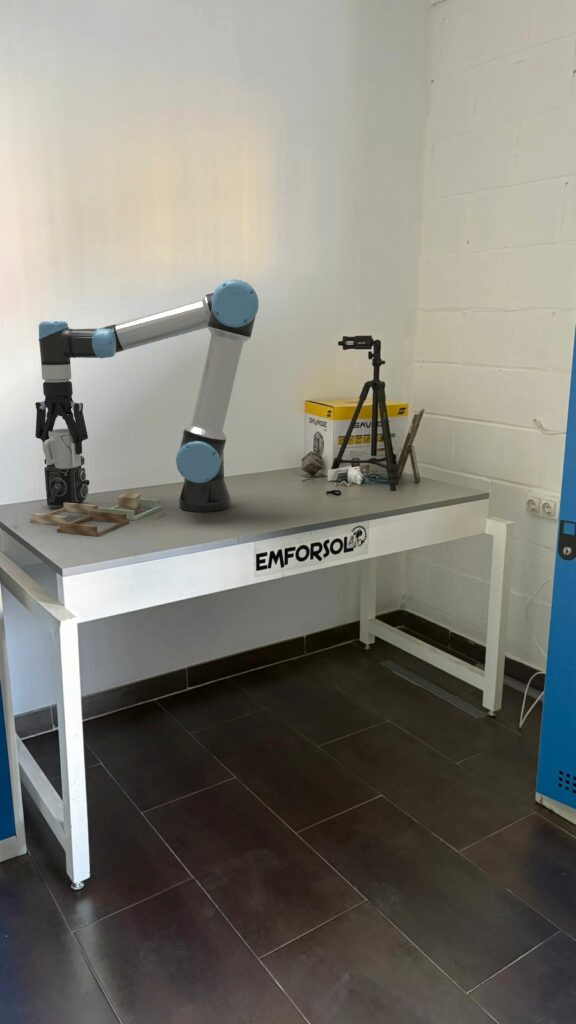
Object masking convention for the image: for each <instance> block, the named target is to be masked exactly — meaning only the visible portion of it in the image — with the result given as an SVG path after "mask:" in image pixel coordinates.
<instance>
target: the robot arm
mask: <svg viewBox="0 0 576 1024" xmlns="http://www.w3.org/2000/svg"><path fill="white" fill-rule="evenodd" d="M259 303H260V302H259V298H258V294H257V292H256V291H255V289H254V288H253V287H252V285H251V284H249V283H248V282H246V281H243V280H242V279H240V280H239V279H229V280H226V281H224V282H222V283H221V284H219V285H218V286H217V288H216V289H215V291H213V292H211V293H207V294H205V295H204V296H203V298H202V299H201V300H197V301H193V302H190V303H189V302H188V303H186V304H183V305H179V306H175V307H171V308H168V309H165V310H160V311H158V312H154V313H150V314H147V315H144V316H139V317H136V318H133V319H130V320H126V321H122V322H118V323H115V324H111V325H107V326H104V327H101V328H100V327H97V328H70V327H69V324H68V322H67V321H64V320H62V321H55V320H54V321H53V320H51V321H48V320H47V321H41V322H39V324H38V344H39V352H40V353H39V354H40V363H41V379H42V380H43V383H42V391H43V393H42V394H43V396H44V400H43V401H37V402H35V404H34V405H35V409H36V416H35V417H36V420H35V422H36V423H35V438H36V439H39V440H41V442H42V444H43V443H44V441H45V440H47V439H49V434H48V432H49V431H51V432H52V431H53V430H54V427H55V424H56V420H57V418H58V417H62V418H61V419H63V420H64V422H65V424H66V426H67V429H69V432H70V434H71V436H72V439H73V442H72V443H71V449H72V462H73V467H77V466H80V465H81V456H82V455H81V454H83V441H86V440H88V439H89V436H88V432H87V427H86V421H85V417H84V412H83V411H84V404H83V402H74V400H73V394H74V393H73V392H74V391H73V382H72V381H71V380H72V369H71V367H72V366H71V359H72V358H73V359H76V358H83V359H85V358H87V359H90V358H91V359H94V358H95V359H106V358H113V357H114V356H115V355H116V353H117V354H118V353H120V352H123V351H126V350H131V349H134V348H137V347H141V346H142V347H143V346H145V345H149V344H152V343H157V342H160V341H163V340H167V339H170V338H174V337H175V338H176V337H178V336H181V335H186V334H189V333H193V332H197V331H200V330H204V329H208V331H209V333H210V335H211V336H210V340H209V345H208V349H207V353H206V358H205V363H204V368H203V371H202V376H201V380H200V385H199V389H198V394H197V399H196V401H195V402H196V403H195V406H194V411H193V415H192V420H191V422H190V423H189V424H188V425H186V426H185V427H184V430H183V431H182V438H181V443H180V447H179V450H178V451H177V453H176V456H175V457H176V458H175V462H176V467H177V470H178V473H179V474H180V475H181V477H183V478H184V479H183V480H184V481H183V485H182V487H181V492H180V495H179V499H178V502H179V503H178V505H179V509H181V510H184V511H188V512H194V513H195V512H198V513H199V512H201V513H202V512H203V513H205V512H217V511H218V512H219V511H222V510H225V509H226V510H227V509H229V508H230V507H231V506H232V505H231V504H232V503H231V495H230V493H229V491H228V487H227V484H226V482H225V465H224V464H225V461H224V460H225V459H224V457H225V455H224V454H225V453H224V450H225V445H226V442H227V439H228V438H227V436H226V433H225V432H224V426H225V422H226V418H227V413H228V409H229V404H230V400H231V397H232V392H233V388H234V383H235V379H236V375H237V371H238V367H239V364H240V360H241V355H242V351H243V350H242V349H243V346H244V343H246V342H247V341H249V340H250V339H251V336H252V333H253V328H254V325H255V320H256V317H257V314H258V310H259ZM42 450H43V449H42ZM43 452H44V450H43ZM49 452H50V457H51V460H52V459H53V456H52V452H51V447H50V444H49ZM47 465H51V464H49V463H47V461H46V464H45V466H47Z"/></svg>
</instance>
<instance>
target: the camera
mask: <svg viewBox="0 0 576 1024" xmlns="http://www.w3.org/2000/svg"><path fill="white" fill-rule="evenodd" d="M80 456H81V465H80V466H78V467H76V468H69V469H60V468H56V467H55V464H51V465H46V458H45V459H44V464H45V465H46V466H45V467H44V479H45V481H44V482H45V483H44V484H45V493H46V495H45V497H46V504H47V506H48V507H50V508H51V509H54V508H58V509H62V508H64V504H63V503H65V502H66V503H77V504H84V501H85V500H86V499H87V498H88V495H89V487H88V486H90V479H87V475H86V469H85V467H82V466H83V465H85V457H84V456H83V455H80Z"/></svg>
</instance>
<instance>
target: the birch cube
mask: <svg viewBox="0 0 576 1024" xmlns="http://www.w3.org/2000/svg"><path fill="white" fill-rule="evenodd" d="M140 498H141V493H122V494H121V495H119V496H118V497H117V503H118V504H117V505H118V508H119V509H125V510H134V514H135V516H137V515H139V514H140V512H141V511H142V510H141V508H142V507H141V503H140Z"/></svg>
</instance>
